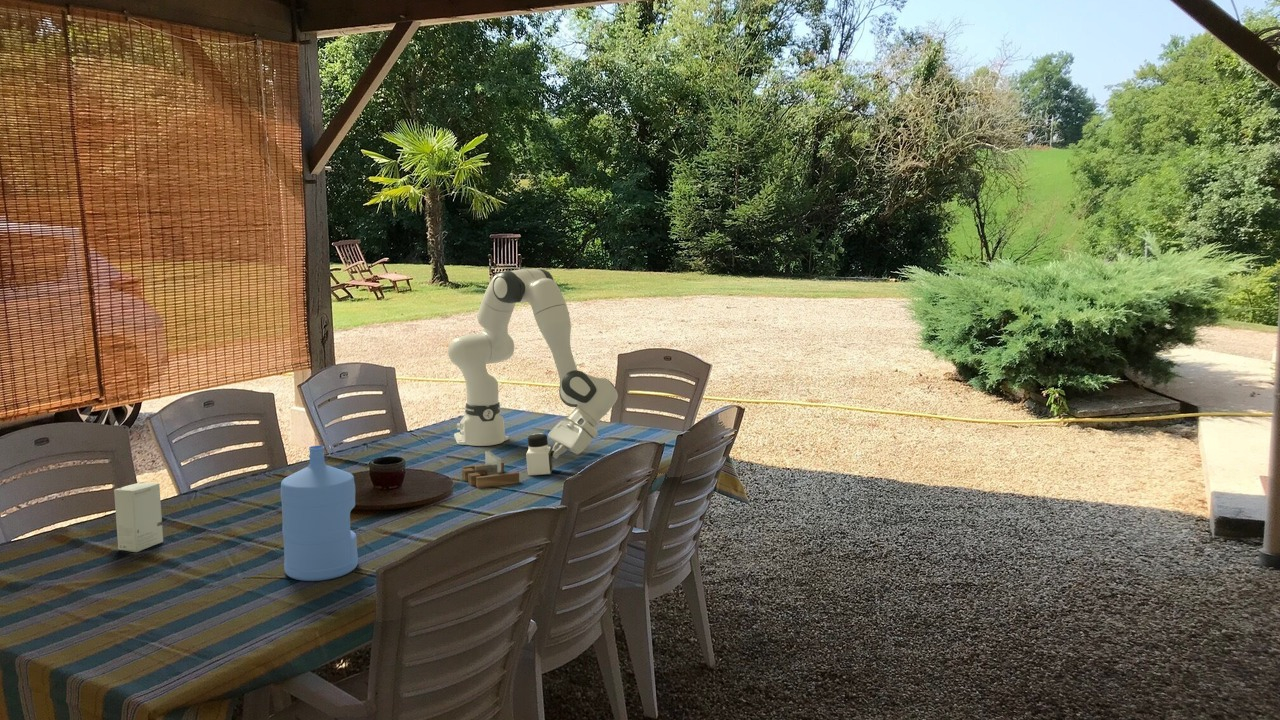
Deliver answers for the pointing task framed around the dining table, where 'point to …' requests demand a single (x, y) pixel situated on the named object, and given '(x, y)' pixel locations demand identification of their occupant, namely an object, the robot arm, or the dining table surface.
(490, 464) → the block
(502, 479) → the lane
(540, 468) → the medicine bottle
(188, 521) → the dining table surface
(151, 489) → the skincare box
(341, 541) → the water jug
